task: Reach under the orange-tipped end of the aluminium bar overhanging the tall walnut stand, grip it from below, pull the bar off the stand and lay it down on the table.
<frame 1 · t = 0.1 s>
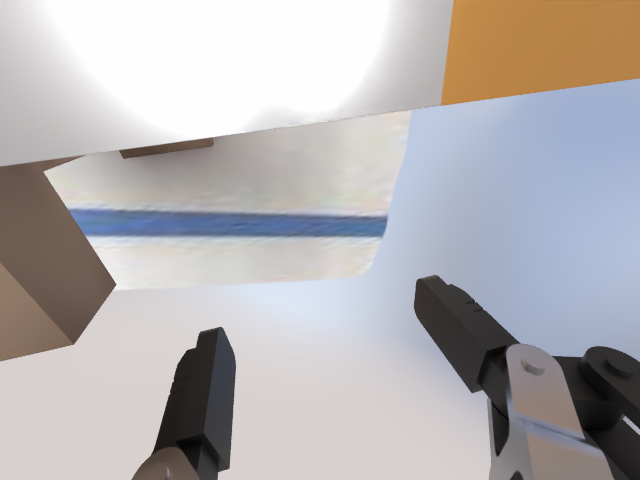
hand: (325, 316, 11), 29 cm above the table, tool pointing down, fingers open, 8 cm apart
tall stand: (147, 84, 29), on the table
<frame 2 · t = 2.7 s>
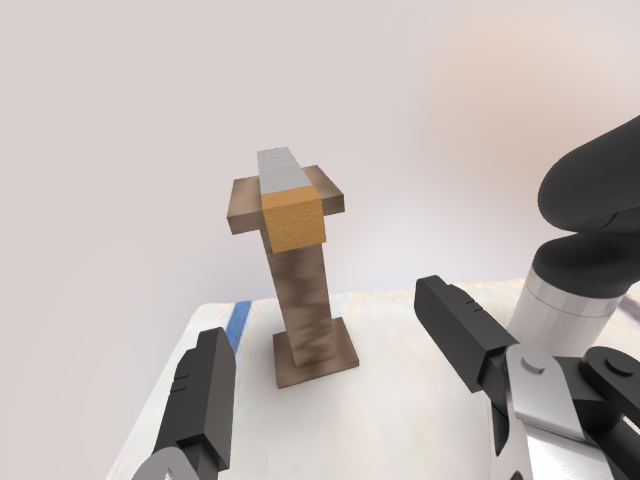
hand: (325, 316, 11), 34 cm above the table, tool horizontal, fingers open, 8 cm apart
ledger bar: (285, 200, 28), point 32 cm above the table, touching tall stand
tall stand: (313, 351, 48), on the table
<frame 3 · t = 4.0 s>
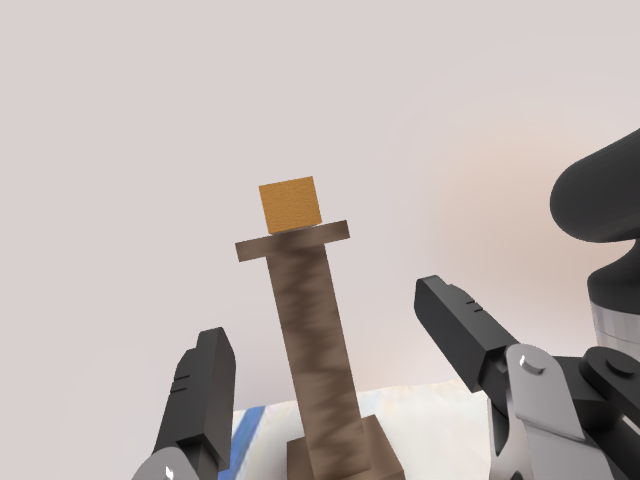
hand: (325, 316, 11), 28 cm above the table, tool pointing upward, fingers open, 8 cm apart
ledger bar: (291, 231, 29), point 32 cm above the table, touching tall stand
tall stand: (340, 465, 35), on the table
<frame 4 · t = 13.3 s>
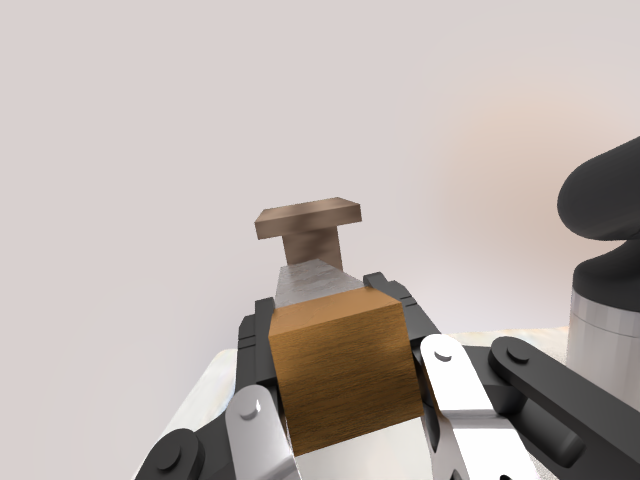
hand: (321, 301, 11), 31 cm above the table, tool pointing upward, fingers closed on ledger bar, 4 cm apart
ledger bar: (318, 325, 18), point 26 cm above the table, tilted 13°, touching gripper
tall stand: (336, 398, 43), on the table
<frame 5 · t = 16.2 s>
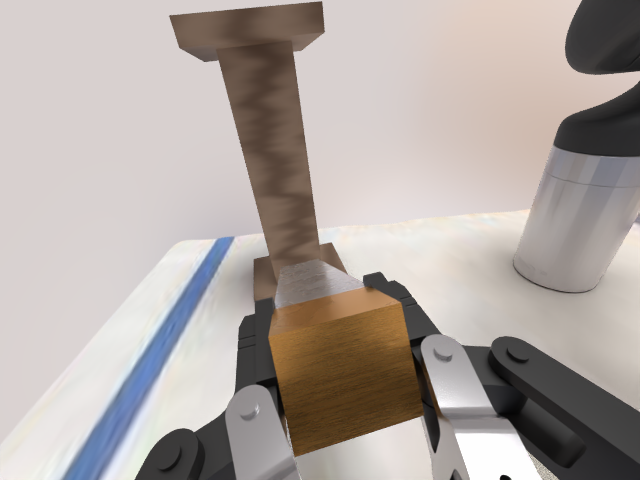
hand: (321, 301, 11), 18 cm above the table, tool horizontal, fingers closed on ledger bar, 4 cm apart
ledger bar: (318, 325, 18), point 13 cm above the table, tilted 30°, touching gripper
tall stand: (298, 274, 43), on the table
when the fingers open (8 cm above the table, at t = 19.0 s): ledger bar drops 3 cm, on the table.
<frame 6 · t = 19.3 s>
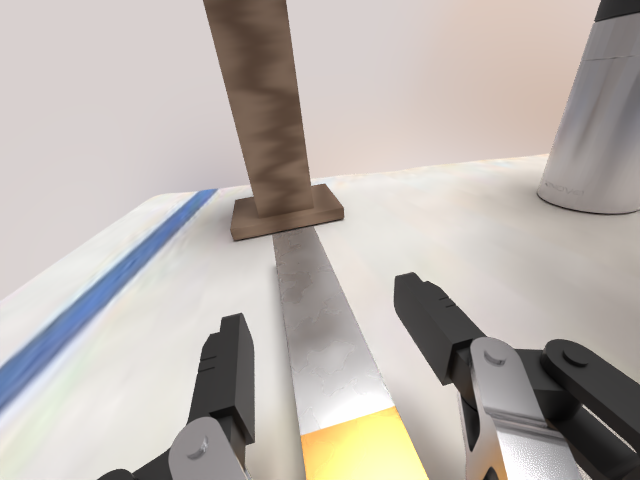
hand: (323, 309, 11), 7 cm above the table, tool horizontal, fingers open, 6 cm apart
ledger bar: (320, 338, 18), on the table
tall stand: (286, 213, 37), on the table
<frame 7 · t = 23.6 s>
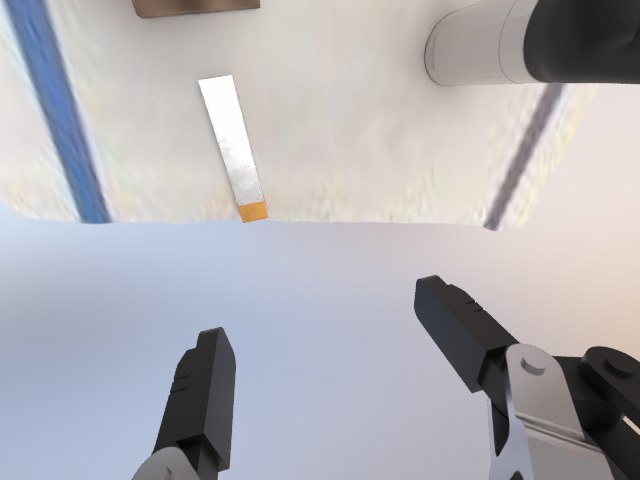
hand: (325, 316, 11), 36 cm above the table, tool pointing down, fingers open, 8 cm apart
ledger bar: (239, 153, 41), on the table
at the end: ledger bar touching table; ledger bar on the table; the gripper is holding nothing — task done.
